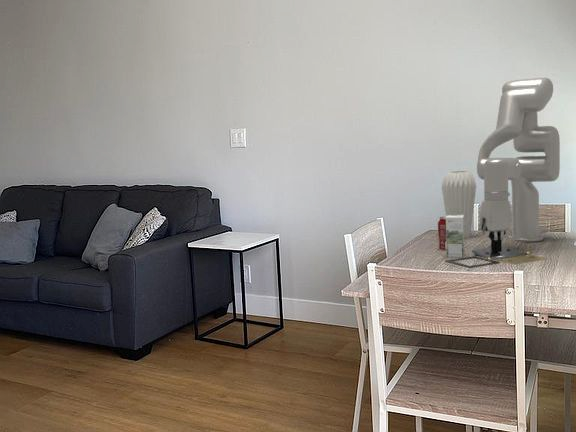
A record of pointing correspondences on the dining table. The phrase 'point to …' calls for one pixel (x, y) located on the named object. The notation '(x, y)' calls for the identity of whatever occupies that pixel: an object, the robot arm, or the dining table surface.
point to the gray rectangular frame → (472, 265)
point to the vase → (460, 196)
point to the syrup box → (455, 235)
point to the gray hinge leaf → (498, 253)
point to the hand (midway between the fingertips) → (496, 251)
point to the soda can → (442, 233)
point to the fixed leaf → (520, 259)
